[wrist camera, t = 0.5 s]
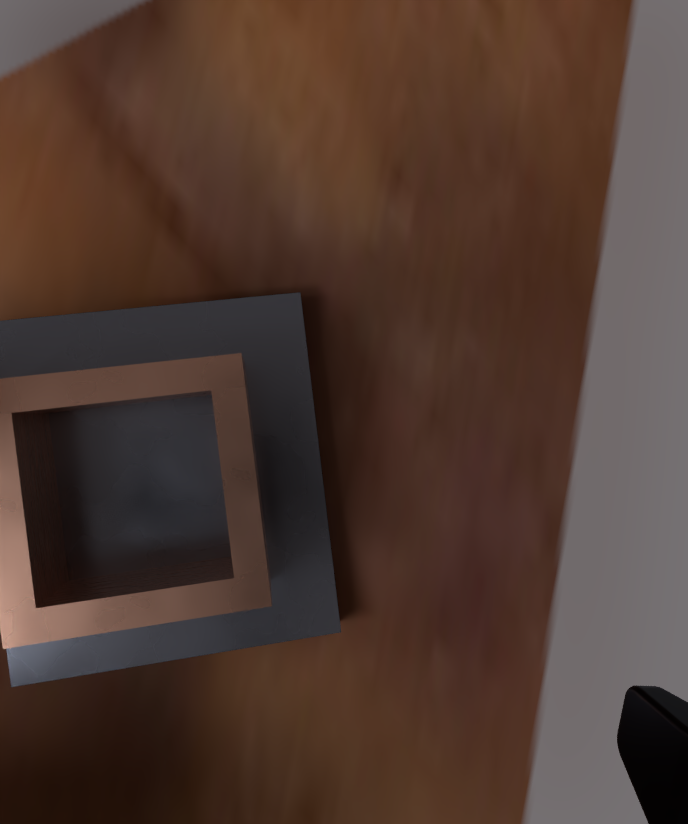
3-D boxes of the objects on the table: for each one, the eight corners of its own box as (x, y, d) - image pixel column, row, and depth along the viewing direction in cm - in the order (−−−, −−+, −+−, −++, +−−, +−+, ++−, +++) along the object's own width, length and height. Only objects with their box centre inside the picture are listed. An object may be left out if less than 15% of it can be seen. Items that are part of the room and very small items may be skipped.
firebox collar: (337, 622, 23) (353, 666, 19) (23, 674, 21) (-33, 733, 17) (298, 297, 22) (306, 272, 19) (-20, 328, 21) (-86, 308, 17)
